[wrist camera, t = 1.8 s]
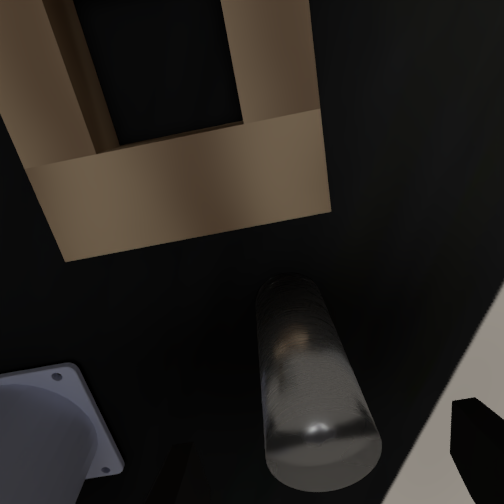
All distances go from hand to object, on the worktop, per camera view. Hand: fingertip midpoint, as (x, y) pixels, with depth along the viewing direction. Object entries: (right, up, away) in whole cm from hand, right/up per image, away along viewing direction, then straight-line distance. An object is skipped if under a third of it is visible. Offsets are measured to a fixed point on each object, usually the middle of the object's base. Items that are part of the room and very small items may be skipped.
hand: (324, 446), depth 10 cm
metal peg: (0, +3, +7) cm, 8 cm away
